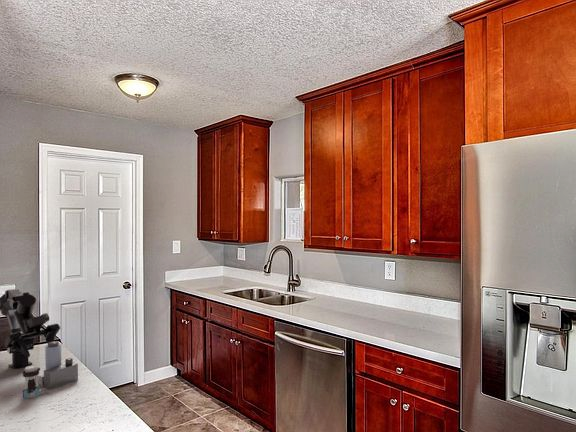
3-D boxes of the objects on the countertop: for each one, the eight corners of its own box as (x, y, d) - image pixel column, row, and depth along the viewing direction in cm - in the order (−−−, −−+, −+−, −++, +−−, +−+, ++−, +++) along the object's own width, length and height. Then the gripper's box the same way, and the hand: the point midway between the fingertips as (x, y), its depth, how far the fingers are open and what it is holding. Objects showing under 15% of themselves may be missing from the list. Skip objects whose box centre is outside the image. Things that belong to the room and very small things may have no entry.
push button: (42, 390, 149) (42, 362, 149) (46, 395, 145) (46, 366, 145) (20, 396, 144) (20, 367, 144) (24, 401, 140) (23, 371, 140)
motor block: (36, 384, 154) (36, 362, 154) (64, 375, 163) (64, 354, 163) (50, 389, 150) (49, 366, 150) (77, 379, 158) (77, 358, 158)
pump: (42, 381, 157) (42, 343, 157) (56, 376, 161) (56, 339, 161) (50, 384, 154) (50, 345, 154) (64, 379, 159) (63, 341, 159)
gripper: (7, 312, 157) (23, 347, 151) (57, 303, 173) (73, 334, 167) (-3, 331, 161) (12, 365, 155) (47, 320, 177) (62, 350, 171)
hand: (41, 353), depth 162 cm, fingers open, 9 cm apart
